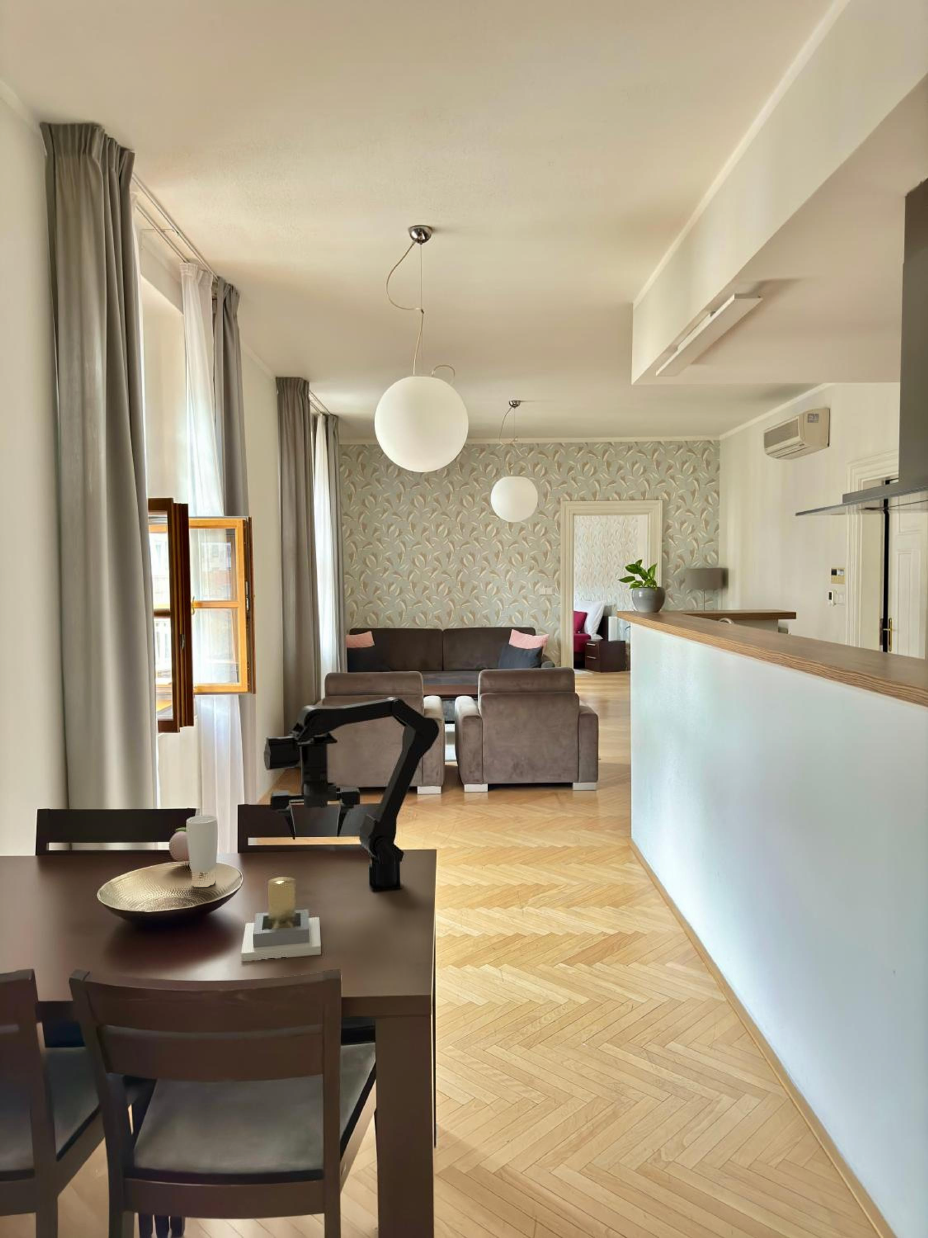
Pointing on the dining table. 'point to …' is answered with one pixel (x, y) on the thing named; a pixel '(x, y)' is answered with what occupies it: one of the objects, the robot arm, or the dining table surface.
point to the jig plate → (281, 938)
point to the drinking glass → (202, 842)
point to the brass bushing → (281, 903)
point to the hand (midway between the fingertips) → (316, 837)
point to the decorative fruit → (179, 845)
